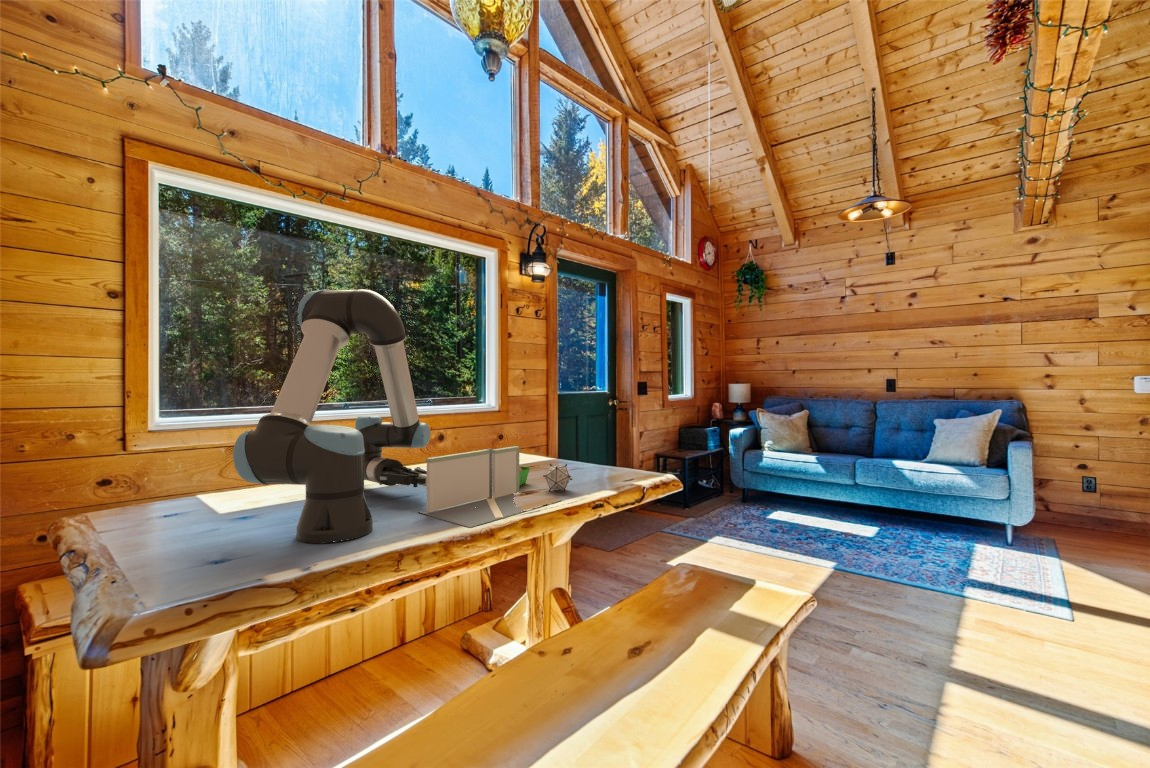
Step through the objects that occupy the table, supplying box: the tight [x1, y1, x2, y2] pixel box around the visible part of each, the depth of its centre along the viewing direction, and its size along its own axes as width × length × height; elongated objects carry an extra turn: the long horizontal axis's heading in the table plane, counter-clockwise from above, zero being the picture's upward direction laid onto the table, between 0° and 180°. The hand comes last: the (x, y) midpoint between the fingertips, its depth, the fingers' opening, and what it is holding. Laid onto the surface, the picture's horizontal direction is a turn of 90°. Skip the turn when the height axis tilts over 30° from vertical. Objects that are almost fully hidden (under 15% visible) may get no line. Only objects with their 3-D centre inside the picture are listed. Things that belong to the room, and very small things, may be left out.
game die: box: [542, 463, 573, 492], centre depth 154 cm, size 9×8×10 cm
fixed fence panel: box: [492, 445, 520, 497], centre depth 148 cm, size 9×2×14 cm, turn 141°
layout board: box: [419, 492, 562, 529], centre depth 135 cm, size 32×20×1 cm, turn 141°
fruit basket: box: [519, 465, 531, 487], centre depth 161 cm, size 11×9×11 cm
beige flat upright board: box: [425, 447, 493, 512], centre depth 136 cm, size 21×2×14 cm, turn 141°
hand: (435, 482), depth 134 cm, fingers closed
